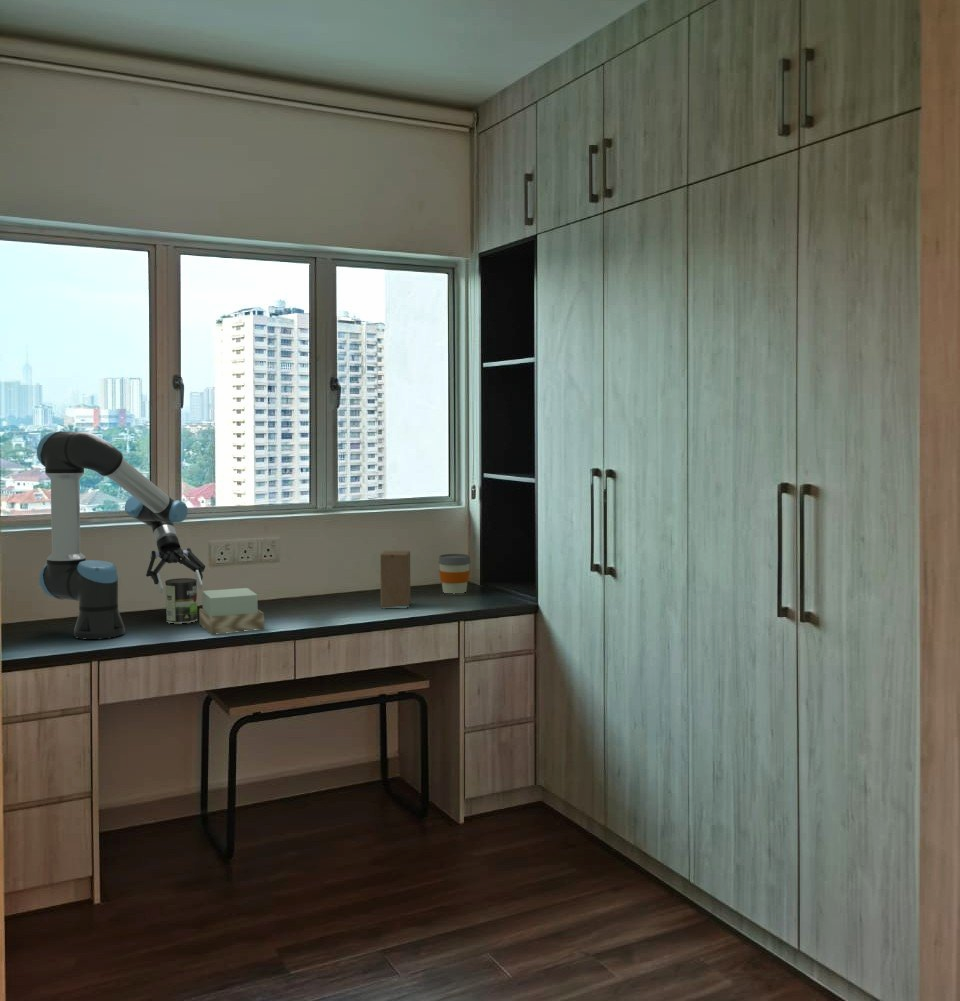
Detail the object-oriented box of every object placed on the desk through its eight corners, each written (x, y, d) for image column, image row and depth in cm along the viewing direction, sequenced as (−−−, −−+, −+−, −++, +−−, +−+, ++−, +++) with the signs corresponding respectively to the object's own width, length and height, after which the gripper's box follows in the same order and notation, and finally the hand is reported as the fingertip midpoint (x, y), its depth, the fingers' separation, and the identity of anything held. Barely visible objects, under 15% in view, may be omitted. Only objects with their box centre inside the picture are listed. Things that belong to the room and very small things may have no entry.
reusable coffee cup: (438, 591, 404) (438, 553, 403) (469, 590, 405) (469, 553, 403) (439, 596, 391) (438, 558, 390) (471, 596, 392) (471, 558, 391)
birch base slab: (212, 636, 324) (211, 617, 323) (199, 626, 338) (199, 608, 338) (264, 630, 332) (263, 612, 331) (249, 621, 346) (249, 604, 346)
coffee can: (203, 618, 349) (202, 578, 348) (188, 624, 339) (187, 583, 338) (175, 617, 351) (174, 577, 350) (160, 623, 341) (159, 582, 340)
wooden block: (408, 608, 367) (407, 554, 365) (380, 608, 367) (380, 554, 365) (410, 603, 377) (410, 550, 375) (383, 603, 377) (383, 550, 375)
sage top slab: (210, 616, 324) (210, 598, 324) (202, 608, 338) (202, 590, 337) (257, 613, 331) (257, 594, 330) (247, 605, 344) (247, 587, 344)
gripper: (199, 544, 368) (214, 591, 357) (129, 549, 354) (142, 598, 343) (203, 531, 363) (219, 578, 352) (133, 536, 349) (146, 585, 338)
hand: (181, 588), depth 348 cm, fingers open, 13 cm apart
